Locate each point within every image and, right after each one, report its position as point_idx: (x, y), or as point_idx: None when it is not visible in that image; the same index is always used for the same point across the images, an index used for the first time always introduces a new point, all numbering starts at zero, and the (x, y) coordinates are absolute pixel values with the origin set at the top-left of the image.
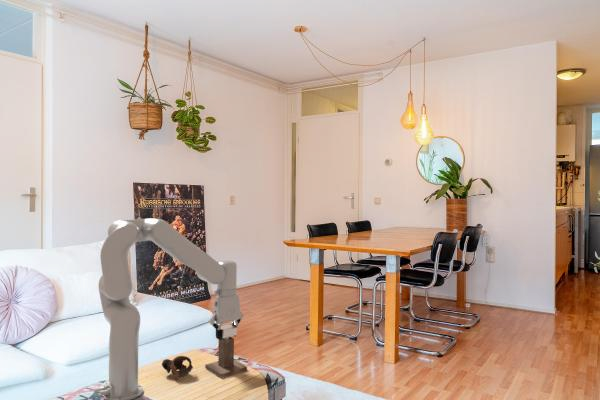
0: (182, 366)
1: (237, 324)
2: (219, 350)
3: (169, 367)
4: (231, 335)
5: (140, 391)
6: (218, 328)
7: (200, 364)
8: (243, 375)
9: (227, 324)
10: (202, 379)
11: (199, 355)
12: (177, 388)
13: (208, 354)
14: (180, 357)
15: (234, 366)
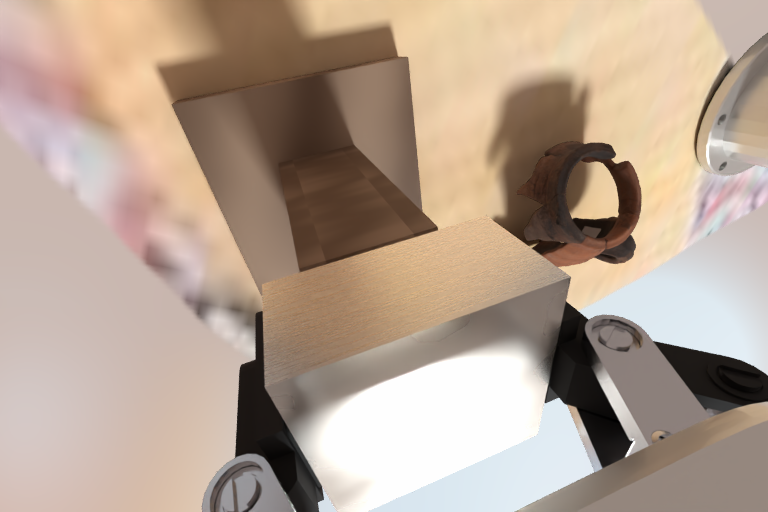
0: None
1: (222, 503)
2: None
3: (596, 225)
4: (363, 261)
5: (755, 59)
6: (629, 334)
7: None
8: (225, 10)
9: (371, 507)
10: (486, 95)
11: None
12: (623, 41)
13: None
14: (602, 238)
15: (274, 152)
